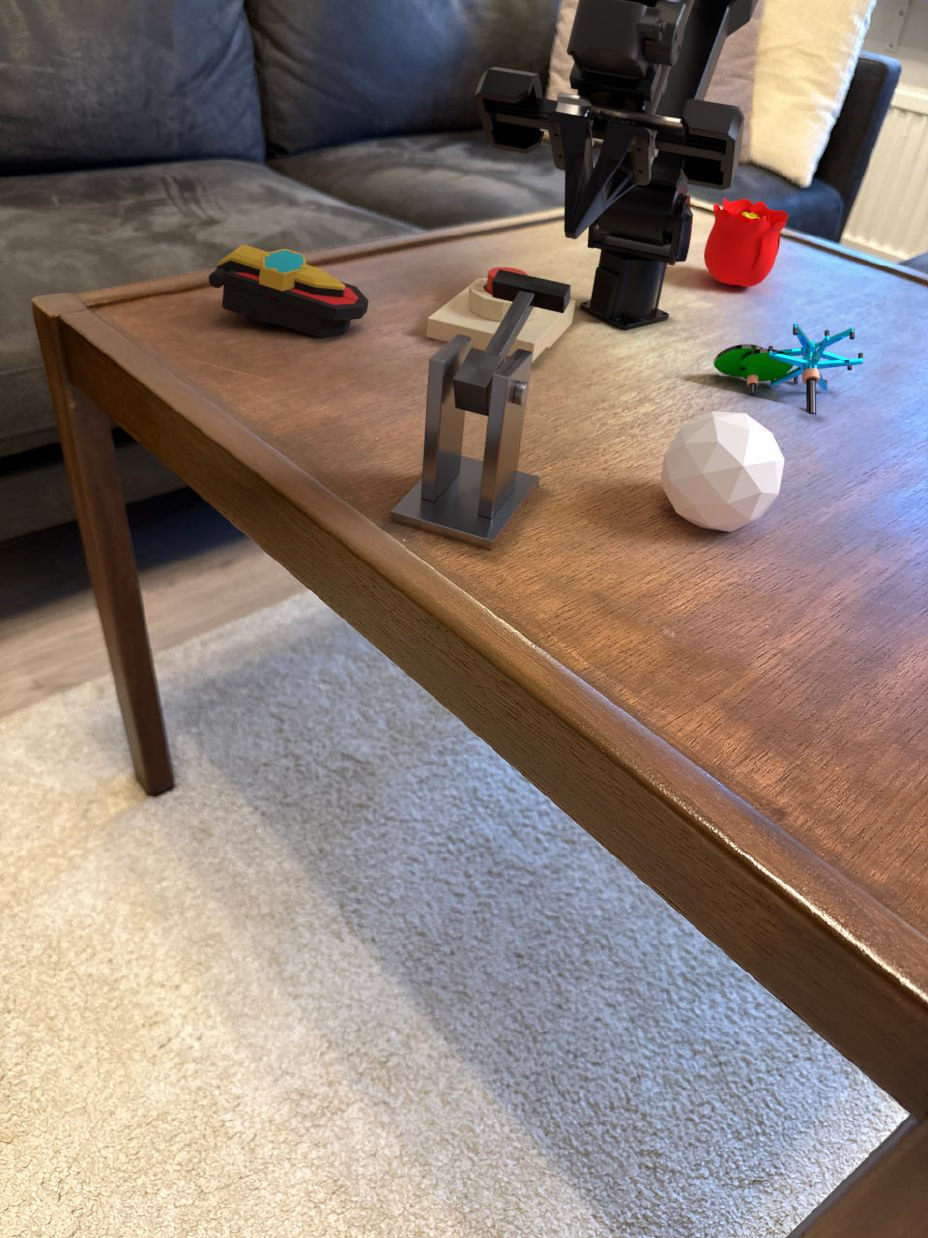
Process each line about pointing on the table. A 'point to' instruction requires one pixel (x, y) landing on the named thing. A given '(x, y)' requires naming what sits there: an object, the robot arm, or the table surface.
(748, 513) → the geometric ball
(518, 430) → the grey metal stand
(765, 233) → the flower
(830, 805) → the table surface
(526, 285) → the press lever
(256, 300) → the gadget
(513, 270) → the button
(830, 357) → the stick construction toy
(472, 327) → the control box
